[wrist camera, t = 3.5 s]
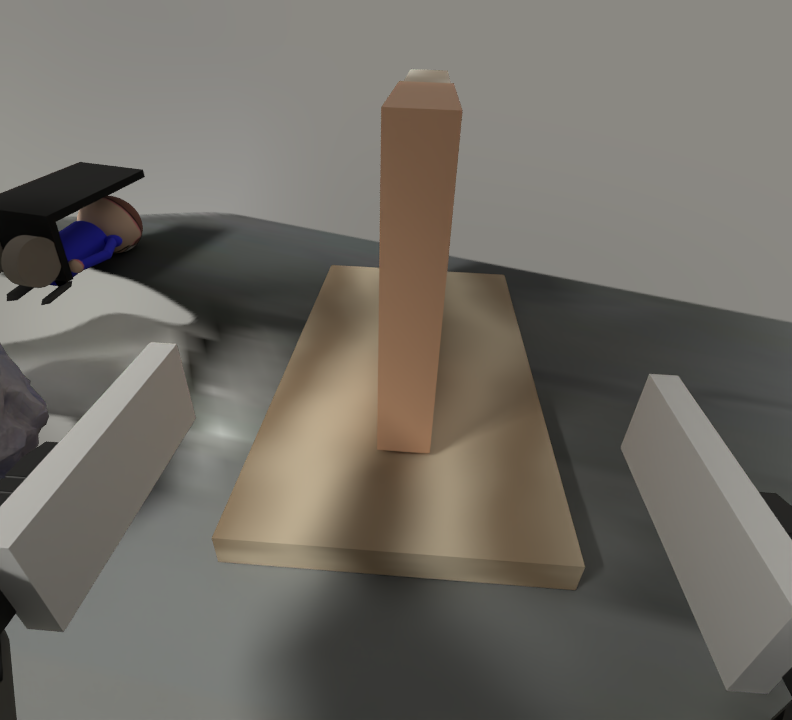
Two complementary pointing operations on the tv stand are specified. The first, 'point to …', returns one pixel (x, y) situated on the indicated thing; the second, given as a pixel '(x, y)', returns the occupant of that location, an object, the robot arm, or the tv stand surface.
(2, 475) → the mineral
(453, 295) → the stand
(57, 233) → the figurine character
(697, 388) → the tv stand surface
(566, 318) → the tv stand surface
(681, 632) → the tv stand surface
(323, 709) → the tv stand surface
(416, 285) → the orange rectangular panel
